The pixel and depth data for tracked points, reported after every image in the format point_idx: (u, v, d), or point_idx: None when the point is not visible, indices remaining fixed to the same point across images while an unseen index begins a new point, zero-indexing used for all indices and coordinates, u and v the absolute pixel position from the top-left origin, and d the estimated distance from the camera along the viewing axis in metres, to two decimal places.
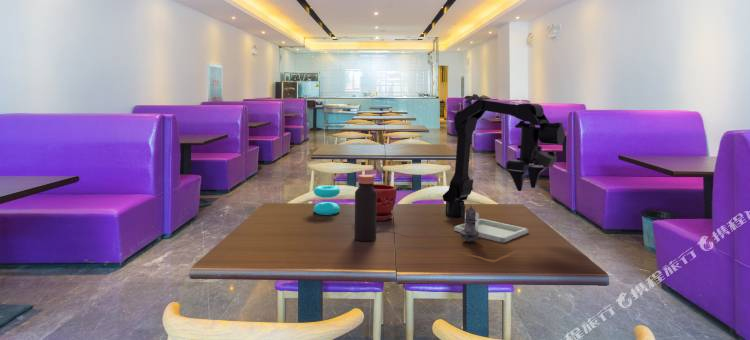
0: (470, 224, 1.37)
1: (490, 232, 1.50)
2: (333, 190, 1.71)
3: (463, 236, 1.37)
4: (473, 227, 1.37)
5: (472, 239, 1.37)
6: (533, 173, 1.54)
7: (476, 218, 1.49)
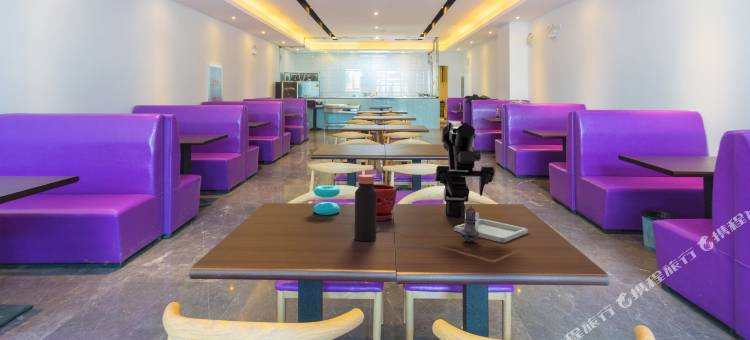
0: (470, 225, 1.37)
1: (490, 232, 1.50)
2: (333, 190, 1.71)
3: (463, 236, 1.37)
4: (473, 227, 1.37)
5: (472, 239, 1.36)
6: (480, 183, 1.48)
7: (476, 218, 1.49)
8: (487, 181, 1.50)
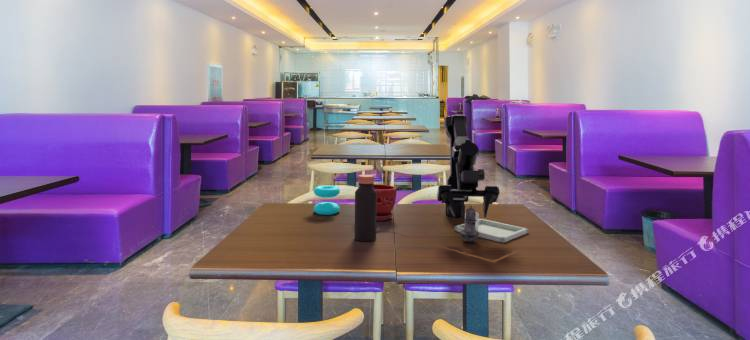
0: (470, 225, 1.37)
1: (490, 232, 1.50)
2: (333, 190, 1.71)
3: (463, 236, 1.37)
4: (473, 227, 1.37)
5: (472, 239, 1.37)
6: (484, 204, 1.42)
7: (476, 218, 1.49)
8: (491, 201, 1.43)
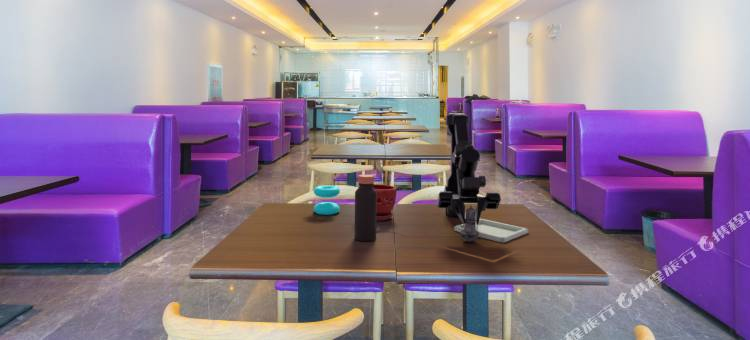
0: (470, 224, 1.37)
1: (490, 232, 1.50)
2: (333, 190, 1.71)
3: (463, 236, 1.37)
4: (473, 227, 1.37)
5: (472, 239, 1.36)
6: (476, 210, 1.40)
7: None
8: (484, 208, 1.41)
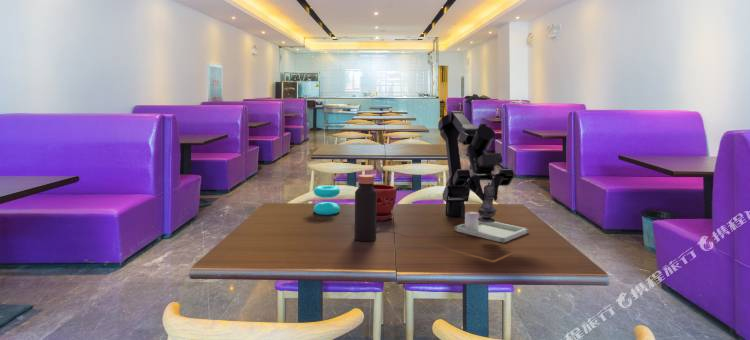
0: (488, 201, 1.39)
1: (490, 232, 1.50)
2: (333, 190, 1.71)
3: (482, 212, 1.39)
4: (491, 203, 1.40)
5: (491, 215, 1.39)
6: None
7: (476, 218, 1.49)
8: None
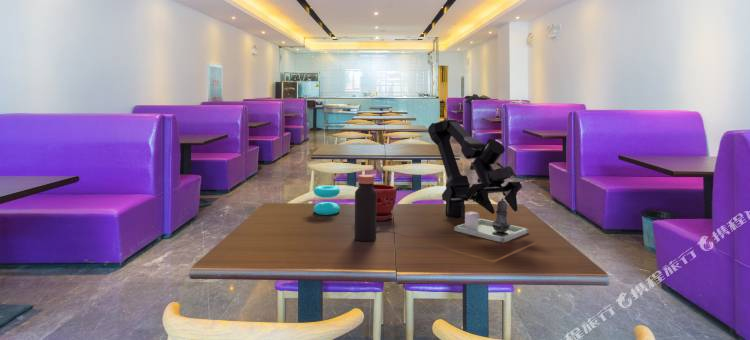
0: (503, 216, 1.45)
1: (490, 232, 1.50)
2: (333, 190, 1.71)
3: (498, 228, 1.45)
4: None
5: (506, 229, 1.45)
6: (510, 199, 1.50)
7: (476, 218, 1.49)
8: None
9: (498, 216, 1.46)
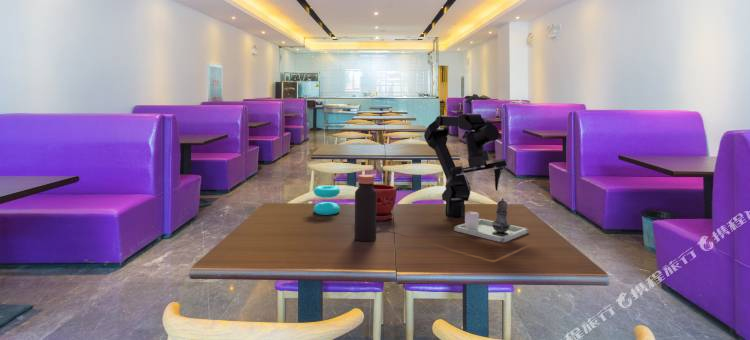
0: (503, 216, 1.45)
1: (490, 232, 1.50)
2: (333, 190, 1.71)
3: (498, 228, 1.45)
4: None
5: (506, 229, 1.45)
6: None
7: (476, 218, 1.49)
8: (502, 170, 1.56)
9: (498, 216, 1.46)
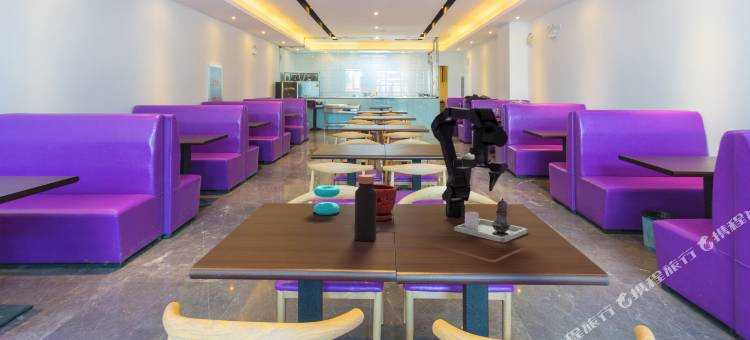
0: (503, 216, 1.45)
1: (490, 232, 1.50)
2: (333, 190, 1.71)
3: (498, 228, 1.45)
4: None
5: (506, 229, 1.45)
6: None
7: (476, 218, 1.49)
8: None
9: (498, 216, 1.46)
